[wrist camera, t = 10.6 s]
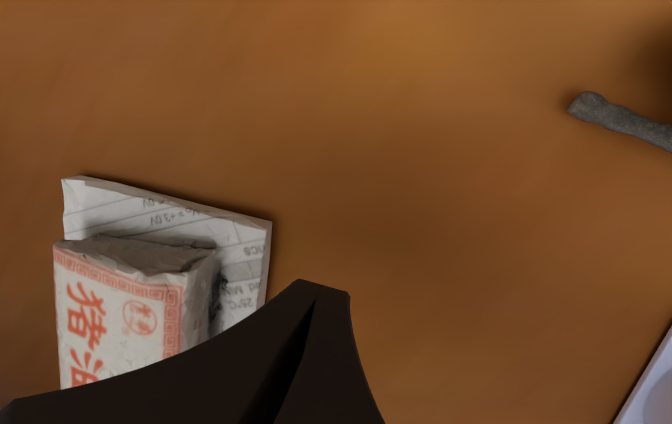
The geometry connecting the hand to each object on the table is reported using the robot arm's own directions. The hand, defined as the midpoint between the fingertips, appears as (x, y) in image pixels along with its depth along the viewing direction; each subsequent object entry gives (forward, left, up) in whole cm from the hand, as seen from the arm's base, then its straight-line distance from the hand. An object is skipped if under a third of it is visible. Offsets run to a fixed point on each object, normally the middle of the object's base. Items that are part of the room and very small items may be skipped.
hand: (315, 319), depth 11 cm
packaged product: (+8, +11, -10) cm, 17 cm away
